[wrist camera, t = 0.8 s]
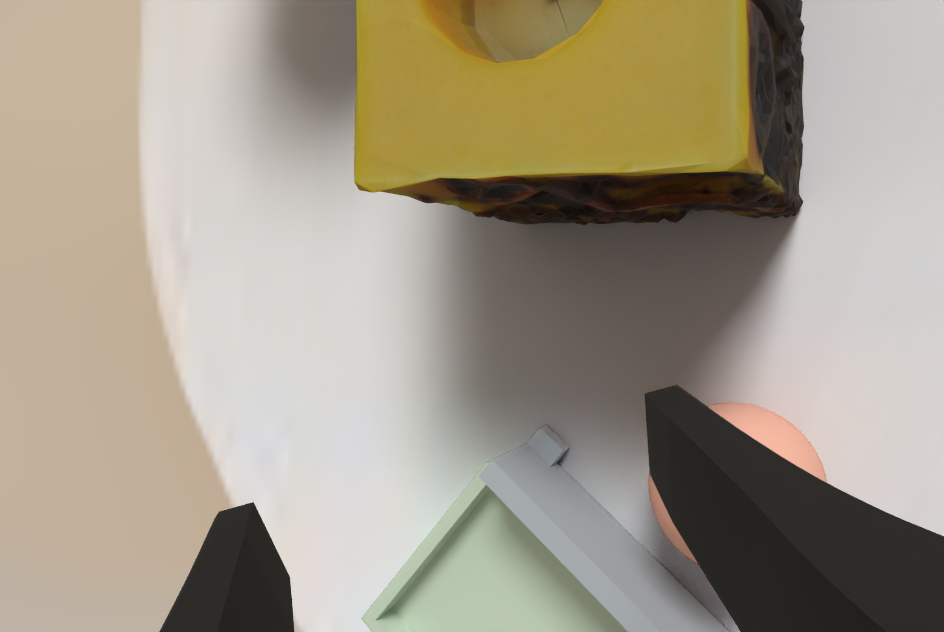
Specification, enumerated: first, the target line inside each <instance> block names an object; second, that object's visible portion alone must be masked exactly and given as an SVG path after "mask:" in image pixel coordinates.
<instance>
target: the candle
mask: <svg viewBox="0 0 944 632" xmlns="http://www.w3.org/2000/svg"><path fill="white" fill-rule="evenodd" d="M801 9H802V1H801V0H356V30H357V81H356V109H355V159H354V176H355V184H356V185H357V187H358V189H359V190H362V191H368V192H380V191H381V192H387V193H393V194H398V195H404V196H409V197H411V198H414V199H417V200H419V201H422V202H424V203H442V204H447V205H457V206H458V207H460V208H461V209H463V210H466V211H470V212H472V213H473V214H474V215H476V216H479V217H488V218H491V217H496V218H498V219H500V220H504V221H508V222H516V223H523V224H535V223H547V222H551V223H571V222H574V223H579V224H583V225H586V224H587V223H597V224H607V223H617V222H624V221H628V222H634V223H643V222H656V223H658V222H659V221H660V220H662V219H663V218H666V219H667V220H668V221H670V222H674V223H676V222H678V221H679V220H680V219H682V218H683V217H684V215H685V214H686V213H687V211H690V210H696V211H701V210H716V211H730V212H733V213H735V214H738V215H742V216H747V217H751V218H758V217H761V216H768V217H773V218H778V217H781V216H784V217H786V218H787V217H789V216H791V215H792V216H795V215H796V214H797V212H798V210H799V209H800V207H801V206H802V204H803V200H802V198H801V197H800V195H799V178H800V169H801V166H802V150H803V144H802V140H801V138H802V134H803V129H804V122H803V107H802V83H803V61H804V58H803V55H802V52H801V45H802V42H801V40H800V38H801V36H802V34H803V30H804V25H803V23H802V22H801V20H800V16H801Z"/></svg>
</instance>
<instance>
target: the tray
mask: <svg viewBox="0 0 944 632" xmlns="http://www.w3.org/2000/svg"><path fill="white" fill-rule="evenodd" d="M504 454H505V453H504ZM502 455H503V454H502ZM500 456H501V455H500ZM498 457H499V456H498ZM490 461H491V460H490ZM490 461H488V462H486V463H485V465H484V466H483V467H482V468H481V470H480V471H479V472H478V473H477V475H476V476H475V477H474V478H473V480H472V481H471V482H470V483H469V485H468V486H467V487H466V488H465V490H464V491H463V492H462V493H461V495H460V496H459V497H458V498H457V500H456V501H455V502H454V503H453V505H452V506H451V507H450V508H449V510H448V511H447V512H446V513H445V515H444V516H443V517H442V518H441V520H440V521H439V522H438V523H437V525H436V526H435V527H434V528H433V530H432V531H431V532H430V533H429V534H428V536H427V537H426V538H425V539H424V541H423V542H422V543H421V544H420V546H419V547H418V548H417V549H416V551H415V552H414V553H413V554H412V556H411V557H410V558H409V559H408V561H407V562H406V563H405V564H404V566H403V567H402V568H401V569H400V571H399V572H398V573H397V574H396V576H395V577H394V578H393V579H392V581H391V582H390V583H389V584H388V586H387V587H386V588H385V589H384V591H383V592H382V593H381V594H380V596H379V597H378V598H377V599H376V601H375V602H374V603H373V604H372V605H371V607H370V608H369V609H368V610H367V612H366V613H365V614H364V615H363V617H362V618H361V619H362V620H363V622H364V623H365V624H366V625H367V626H368V628H369V629H370V630H371V631H372V632H628V631H627V630H626V629H625V628H624V627H623V626H622V625H621V624H620V623H619V622H618V621H617V620H616V619H615V618H614V617H613V615H612V614H611V613H610V612H609V611H608V610H607V609H606V608H605V607H604V606H603V605H602V604H601V603H600V602H599V601H598V600H597V599H596V598H595V597H594V596H593V595H592V594H591V593H590V592H589V591H588V590H587V589H586V588H585V586H584V585H583V584H582V583H581V582H580V581H579V580H578V579H577V578H576V577H575V576H574V575H573V574H572V573H571V572H570V571H569V570H568V569H567V568H566V567H565V566H564V565H563V564H562V563H561V562H560V561H559V560H558V559H557V557H556V556H555V555H554V554H553V553H552V552H551V551H550V550H549V549H548V548H547V547H546V546H545V545H544V544H543V543H542V542H541V541H540V540H539V539H538V538H537V537H536V536H535V535H534V534H533V533H532V532H531V531H530V530H529V528H528V527H527V526H526V525H525V524H524V523H523V522H522V521H521V520H520V519H519V518H518V517H517V516H516V515H515V514H514V513H513V512H512V511H511V510H510V509H509V508H508V507H507V506H506V505H505V504H504V503H503V502H502V501H501V499H500V498H499V497H498V496H497V495H496V494H495V493H494V492H493V491H492V490H491V489H490V488H489V487H488V486H487V485H486V484H485V483H484V482H483V481H482V480H481V479H480V478H479V477H478V476H479V475H480V474H481V472H482V471H483V470H484V469H485V467H486V466H487V465H488V464H489V462H490Z"/></svg>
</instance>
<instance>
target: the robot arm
mask: <svg viewBox="0 0 944 632" xmlns="http://www.w3.org/2000/svg"><path fill="white" fill-rule="evenodd" d="M645 406H646V422H647V437H648V452H649V467H650V475H651V477H652V480H653V482H654V484H655V486H656V488H657V491H658V493H659V495H660V497H661V499H662V501H663V504H664V506H665V508H666V510H667V512H668V514H669V516H670V518H671V520H672V522H673V524H674V526H675V527H676V529H677V530H678V532H679V534H680V535H681V537H682V539H683V540H684V542H685V543H686V545H687V547H688V548H689V550H690V551H691V553H692V555H693V556H694V558H695V560H696V561H697V563H698V564H699V566H700V567H701V569H702V571H703V572H704V574H705V575H706V577H707V579H708V580H709V582H710V583H711V585H712V586H713V588H714V590H715V591H716V593H717V594H718V596H719V598H720V599H721V601H722V602H723V604H724V605H725V607H726V609H727V610H728V612H729V613H730V615H731V617H732V618H733V620H734V621H735V623H736V625H737V626H738V628H739V630H740V631H741V632H944V536H941V535H939V534H936V533H934V532H932V531H929V530H927V529H924V528H922V527H919V526H917V525H914V524H912V523H910V522H907V521H905V520H902V519H900V518H898V517H895V516H893V515H891V514H889V513H886V512H884V511H882V510H880V509H878V508H876V507H874V506H872V505H870V504H867V503H865V502H863V501H861V500H859V499H857V498H855V497H853V496H851V495H849V494H847V493H845V492H843V491H841V490H839V489H837V488H835V487H833V486H832V485H830V484H828V483H826V482H824V481H822V480H821V479H819V478H817V477H815V476H814V475H812V474H810V473H808V472H807V471H805V470H803V469H802V468H800V467H798V466H796V465H795V464H793V463H791V462H790V461H788V460H787V459H785V458H783V457H782V456H780V455H778V454H777V453H775V452H774V451H772V450H771V449H769V448H768V447H766V446H764V445H763V444H761V443H760V442H758V441H757V440H755V439H754V438H752V437H751V436H749V435H747V434H746V433H745V432H743V431H742V430H740V429H739V428H737V427H736V426H734V425H733V424H731V423H730V422H728V421H727V420H726V419H724V418H723V417H721V416H720V415H718V414H717V413H716V412H714V411H713V410H711V409H710V408H709V407H707V406H706V405H704V404H703V403H702V402H700V401H699V400H697V399H696V398H695V397H693V396H692V395H691V394H689V393H688V392H686V391H685V390H683V389H682V388H680V387H679V386H677V385H675V386H671V387H667V388H664V389H660V390H657V391H653V392H649V393H646V394H645ZM160 632H294V622H293V608H292V597H291V586H290V577H289V575H288V572H287V570H286V568H285V566H284V564H283V562H282V560H281V558H280V556H279V554H278V552H277V550H276V548H275V546H274V544H273V542H272V539H271V537H270V535H269V533H268V531H267V529H266V527H265V525H264V523H263V521H262V519H261V517H260V515H259V513H258V511H257V509H256V506H255V504H254V502H253V503H249V504H245V505H242V506H238V507H235V508H231V509H227V510H224V511H220V512H219V513H218V514H217V516H216V518H215V519H214V522H213V524H212V526H211V528H210V530H209V532H208V534H207V537H206V539H205V541H204V543H203V545H202V547H201V550H200V552H199V554H198V556H197V558H196V560H195V562H194V565H193V566H192V569H191V571H190V573H189V575H188V577H187V579H186V581H185V583H184V585H183V587H182V589H181V591H180V593H179V595H178V597H177V599H176V601H175V603H174V605H173V607H172V609H171V611H170V612H169V614H168V616H167V618H166V620H165V622H164V624H163V626H162V628H161V630H160Z"/></svg>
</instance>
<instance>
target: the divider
mask: <svg viewBox="0 0 944 632" xmlns="http://www.w3.org/2000/svg"><path fill="white" fill-rule="evenodd" d="M568 449H569V446H568V445H567V444H566V443H565V442H564V441H563V440H562V439H561V438H560V437H558V436H557V435H556V434H555V433H554V432H553V431H552V430H551V429H550V428H549V427H548V426H547V425H544V426H541V427H539V429H538V430H537V431H536V432H535V434H534V435H533V436H532V437H531V438H530V440H529V441H528V442H527V443H526V444H524V445H521V446H519V447H517V448H515V449H513V450H511V451H509V452H507V453H505V454H503V455H501V456H499V457H496V458H494V459H492V460H491V461H490V462H489V464H488V465H487V466H486V467H485V469H484V470H483V471H482V472H481V474H480V475H479V476H478V477H479V478H480V479H481V480H482V481H483V482H484V483H485V484H486V485H487V486H488V487H489V488H490V489H491V490H492V491H493V492H494V493H495V494H496V495H497V496H498V497H499V498H500V499H501V501H502V502H503V503H504V504H505V505H506V506H507V507H508V508H509V509H510V510H511V511H512V512H513V513H514V514H515V515H516V516H517V517H518V518H519V519H520V520H521V521H522V522H523V523H524V524H525V525H526V526H527V527H528V528H529V530H530V531H531V532H532V533H533V534H534V535H535V536H536V537H537V538H538V539H539V540H540V541H541V542H542V543H543V544H544V545H545V546H546V547H547V548H548V549H549V550H550V551H551V552H552V553H553V554H554V555H555V556H556V557H557V559H558V560H559V561H560V562H561V563H562V564H563V565H564V566H565V567H566V568H567V569H568V570H569V571H570V572H571V573H572V574H573V575H574V576H575V577H576V578H577V579H578V580H579V581H580V582H581V583H582V584H583V585H584V586H585V588H586V589H587V590H588V591H589V592H590V593H591V594H592V595H593V596H594V597H595V598H596V599H597V600H598V601H599V602H600V603H601V604H602V605H603V606H604V607H605V608H606V609H607V610H608V611H609V612H610V613H611V614H612V615H613V617H614V618H615V619H616V620H617V621H618V622H619V623H620V624H621V625H622V626H623V627H624V628H625V629H626V630H627V631H628V632H730V631H729V630H727V629H726V628H725V627H724V626H723V625H722V624H721V623H720V622H719V621H718V620H717V619H716V618H715V617H714V616H713V615H712V614H711V613H710V612H709V611H708V610H707V609H706V608H705V607H704V606H703V605H702V604H701V603H700V602H699V601H698V600H697V599H696V598H695V597H694V596H693V595H692V594H691V593H690V592H689V591H688V590H687V589H686V588H685V587H683V586H682V585H681V584H680V583H679V582H678V581H677V580H676V579H675V578H674V577H673V576H672V575H671V574H670V573H669V572H668V571H667V570H666V569H665V568H664V567H663V566H662V565H661V564H660V563H659V562H658V561H657V560H656V559H655V558H654V557H653V556H652V555H651V554H650V553H649V552H648V551H647V550H646V549H645V548H644V547H643V546H642V545H641V544H639V543H638V542H637V541H636V540H635V539H634V538H633V537H632V536H631V535H630V534H629V533H628V532H627V531H626V530H625V529H624V528H623V527H622V526H621V525H620V524H619V523H618V522H617V521H616V520H615V519H614V518H613V517H612V516H611V515H610V514H609V513H608V512H607V511H606V510H605V509H604V508H603V507H602V506H601V505H600V504H599V503H598V502H597V501H595V500H594V499H593V498H592V497H591V496H590V495H589V494H588V493H587V492H586V491H585V490H584V489H583V488H582V487H581V486H580V485H579V484H578V483H577V482H576V481H575V480H574V479H573V478H572V477H571V476H570V475H569V474H568V473H567V472H566V471H565V470H564V469H563V468H562V467H561V466H560V465H559V464H558V463H557V462H558V460H559V459H560V458H561V457H562V456H563V455H564V453H565V452H566V451H567V450H568Z"/></svg>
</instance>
